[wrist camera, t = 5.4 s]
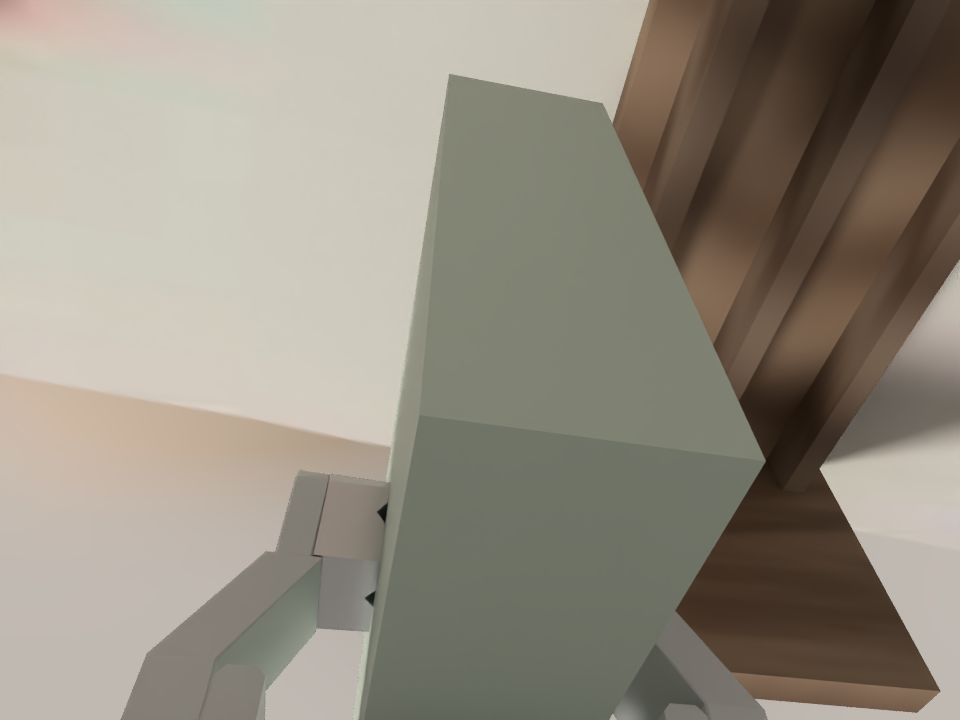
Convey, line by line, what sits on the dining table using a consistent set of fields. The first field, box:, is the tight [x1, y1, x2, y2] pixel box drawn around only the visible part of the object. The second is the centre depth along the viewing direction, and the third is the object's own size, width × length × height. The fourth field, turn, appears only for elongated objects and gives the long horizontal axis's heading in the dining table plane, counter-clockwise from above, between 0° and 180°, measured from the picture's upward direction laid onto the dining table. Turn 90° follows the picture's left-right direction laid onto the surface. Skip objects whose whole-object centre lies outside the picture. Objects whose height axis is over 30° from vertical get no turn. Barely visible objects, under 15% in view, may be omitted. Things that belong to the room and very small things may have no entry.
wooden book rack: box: [613, 0, 960, 713], centre depth 22 cm, size 26×14×12 cm, turn 169°
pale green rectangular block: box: [353, 74, 766, 720], centre depth 12 cm, size 12×2×8 cm, turn 169°
